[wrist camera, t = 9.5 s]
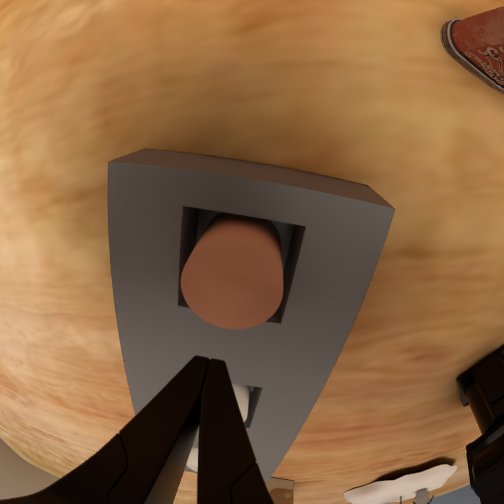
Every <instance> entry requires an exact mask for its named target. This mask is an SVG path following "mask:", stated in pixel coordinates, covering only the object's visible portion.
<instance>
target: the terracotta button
mask: <svg viewBox="0 0 504 504" xmlns="http://www.w3.org/2000/svg"><path fill="white" fill-rule="evenodd" d="M181 289H182V293H183V296H184V298H185V300H186V302H187V304H188V305H189V307H190V308H191V309H192V311H193V312H194V313H195V314H196V315H198V316H199V317H200V318H201V319H203V320H205V321H206V322H208V323H210V324H212V325H215V326H218V327H221V328H226V329H246V328H251V327H254V326H257V325H259V324H261V323H263V322H265V321H266V320H268V319H269V318H270V317H271V316H272V315H273V314H274V313H275V312H276V310H277V309H278V307H279V305H280V303H281V300H282V297H283V267H282V245H281V238H280V235H279V232H278V230H277V228H276V227H275V225H274V224H273V223H272V221H271V220H268V219H262V218H256V217H250V216H244V215H238V214H232V213H226V212H221V213H219V214H218V215H216V216H215V217H214V218H213V219H212V220H211V221H210V222H209V223H208V225H207V226H206V228H205V230H204V232H203V233H202V235H201V237H200V239H199V241H198V242H197V244H196V246H195V248H194V250H193V251H192V253H191V255H190V257H189V259H188V261H187V262H186V264H185V266H184V269H183V271H182V275H181Z"/></svg>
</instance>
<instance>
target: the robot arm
mask: <svg viewBox="0 0 504 504" xmlns="http://www.w3.org/2000/svg"><path fill="white" fill-rule="evenodd" d="M457 383H458V388H459V392H460V396H461V401H462V405H463V406H464V407H465V406H468V405H470V407H471V409H472V412H473V414H474V416H475V419H476V421H477V423H478V426H479V428H480V430H481V433H482V436H480V437H479V438H478V439H476V440H475V441H473V442H472V443H469V444H468V445H467V446H466V451H467V453H466V455H467V462H468V469H469V477H470V485H471V488H472V489H473V490H474V492H475V493H476V495H477V496H478V497H479V498H480V501H481V504H504V346H503V347H502V348H500V349H499V350H498V351H496V352H495V353H493V354H492V355H491V356H489V357H488V358H486V359H485V360H483V361H482V362H481V363H479V364H478V365H476V366H475V367H473V368H472V369H470V370H468V371H467V372H465V373H464V374H462V375H461V376H459V377H458V379H457ZM198 428H199V438H198V467H197V504H275V503H274V501H273V499H272V497H271V495H270V493H269V491H268V489H267V486H266V484H265V481H264V479H263V476H262V474H261V471H260V468H259V465H258V463H256V462H257V460H256V457H255V454H254V451H253V448H252V445H251V442H250V439H249V436H248V433H247V430H246V427H245V424H244V421H243V418H242V415H241V411H240V408H239V405H238V402H237V399H236V395H235V392H234V389H233V385H232V382H231V379H230V375H229V372H228V369H227V365H226V362H225V361H224V360H221V359H215V358H211V359H209V358H208V357H204V356H199V355H195V356H194V357H193V358H192V359H191V360H190V361H189V362H188V363H187V364H186V365H185V366H184V367H183V368H182V369H181V370H180V371H179V372H178V373H177V374H176V375H175V376H174V377H173V378H172V379H171V380H170V381H169V382H168V383H167V384H166V385H165V386H164V387H163V388H162V389H161V390H160V391H159V392H158V393H157V394H156V395H155V396H154V397H153V398H152V399H151V400H150V401H149V402H148V403H147V404H146V405H145V406H144V407H143V408H142V409H141V410H140V411H139V412H138V413H137V414H136V415H135V416H134V417H133V418H132V419H131V420H130V421H129V422H128V423H127V424H126V425H125V426H124V427H123V428H122V429H121V430H120V431H119V434H118V433H117V434H116V435H115V436H114V437H113V438H112V439H111V440H110V441H109V442H108V443H106V444H105V445H104V446H103V447H102V448H101V449H100V450H99V451H97V452H96V453H95V454H94V455H93V456H91V457H90V458H89V459H87V460H86V461H85V462H83V463H82V464H81V465H79V466H78V467H76V468H75V469H73V470H72V471H71V472H69V473H68V474H66V475H65V476H63V477H62V478H60V479H59V480H57V481H56V482H54V483H53V484H51V485H50V486H48V487H46V488H45V489H43V490H41V491H39V492H36V493H34V494H31V495H27V496H22V497H16V498H10V499H3V500H0V504H173V501H174V498H175V496H176V493H177V490H178V487H179V484H180V481H181V478H182V475H183V472H184V469H185V466H186V464H187V461H188V458H189V455H190V452H191V449H192V446H193V443H194V440H195V437H196V434H197V431H198Z"/></svg>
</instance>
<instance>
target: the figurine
mask: <svg viewBox="0 0 504 504" xmlns="http://www.w3.org/2000/svg"><path fill="white" fill-rule="evenodd" d="M456 469H457V466H449V465H448V464H446V465H439V466H436V467H433V468H430V469H428V470H425V471H422V472H420V473H415V474H409V475H405V476H403V477H400V478H398V479H396V480H390V481H379V482H374V483H371V484H368V485H365V486H362V487H359V488H356V489H352V490H350V491H347V492H344V493H343V496H344V498H345V500H346V501H348V502H350V503H352V504H389V503H392V502H400V504H402V501H403V500H406V499H410V498H414V497H415V501H416V502H417V504H429V493H428V491H431V490H434V489H437V488H439V487H441V486H442V485H443V484H444V483H445V481H446V480H447V479H448V478H449V477H450V476H451V475H452V474H453V473H454V472H455V471H456ZM433 497H434V495H433ZM433 497H432V498H433ZM431 500H432V499H431ZM430 502H431V501H430ZM413 503H414V504H416V503H415V502H413Z"/></svg>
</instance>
